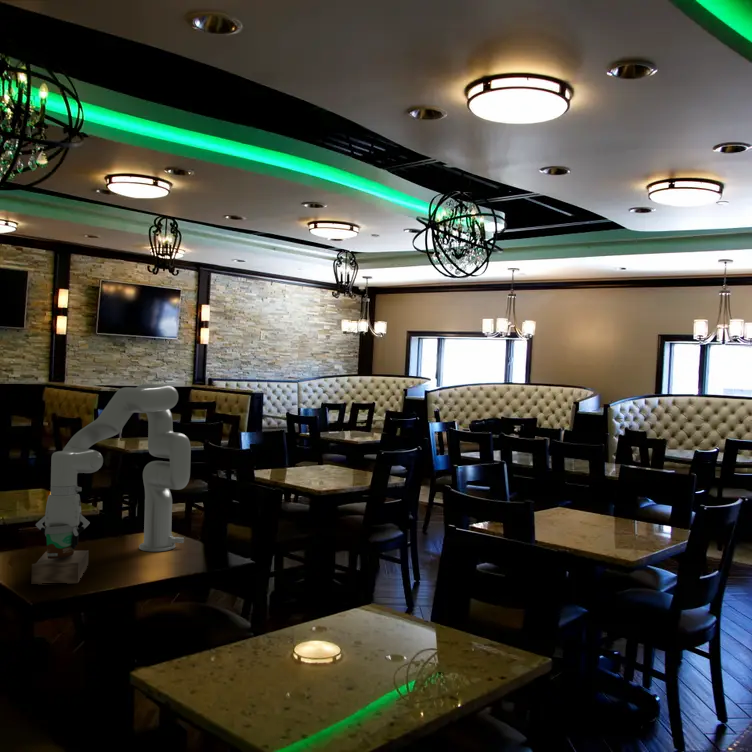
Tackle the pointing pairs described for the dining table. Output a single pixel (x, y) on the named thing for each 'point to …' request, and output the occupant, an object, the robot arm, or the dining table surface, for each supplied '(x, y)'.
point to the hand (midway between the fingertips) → (62, 547)
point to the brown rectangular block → (60, 568)
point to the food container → (59, 541)
